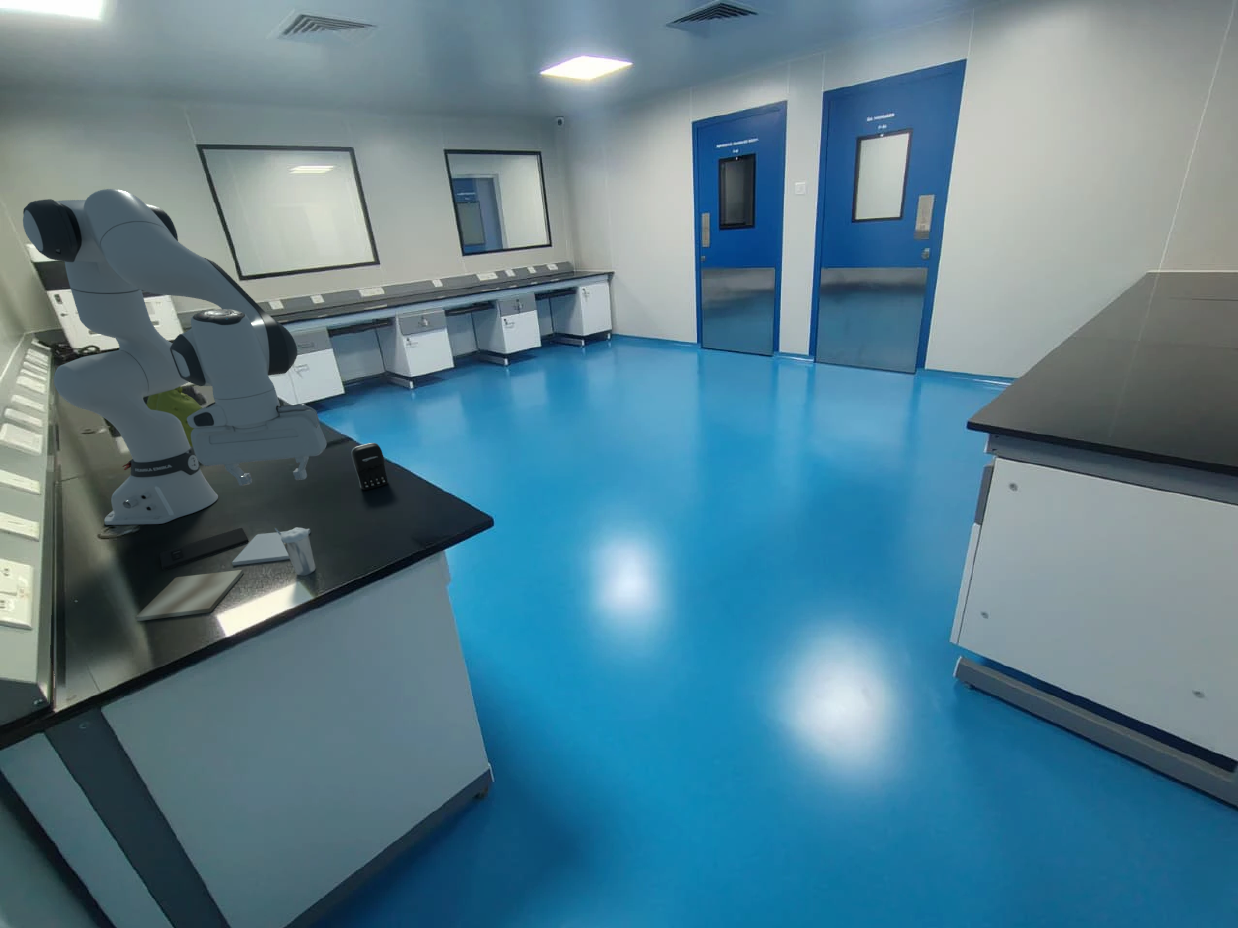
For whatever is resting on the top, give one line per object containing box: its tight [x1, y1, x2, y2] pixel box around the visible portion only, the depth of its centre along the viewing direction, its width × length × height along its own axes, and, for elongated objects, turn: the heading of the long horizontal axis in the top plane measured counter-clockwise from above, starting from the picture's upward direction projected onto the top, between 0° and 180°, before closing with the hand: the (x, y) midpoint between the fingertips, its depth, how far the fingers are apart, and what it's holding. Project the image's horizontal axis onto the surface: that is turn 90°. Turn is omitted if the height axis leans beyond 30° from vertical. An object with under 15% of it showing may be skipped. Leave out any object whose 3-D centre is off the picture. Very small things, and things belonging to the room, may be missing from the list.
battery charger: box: [351, 442, 389, 491], centre depth 139 cm, size 7×4×11 cm, turn 127°
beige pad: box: [134, 569, 244, 622], centre depth 101 cm, size 12×12×1 cm
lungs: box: [145, 386, 203, 449], centre depth 170 cm, size 25×16×24 cm, turn 50°
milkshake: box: [274, 527, 316, 577], centre depth 105 cm, size 4×5×10 cm
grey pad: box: [231, 528, 312, 566], centre depth 115 cm, size 11×11×1 cm
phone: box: [159, 527, 250, 571], centre depth 116 cm, size 8×1×15 cm
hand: (274, 481), depth 99 cm, fingers open, 8 cm apart
